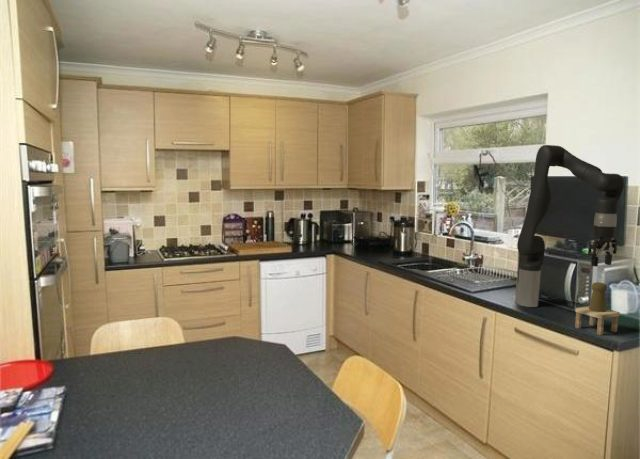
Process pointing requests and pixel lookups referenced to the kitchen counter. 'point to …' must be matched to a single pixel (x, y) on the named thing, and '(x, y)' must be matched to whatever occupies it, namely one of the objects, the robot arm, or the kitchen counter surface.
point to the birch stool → (600, 316)
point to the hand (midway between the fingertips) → (601, 265)
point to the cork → (598, 297)
